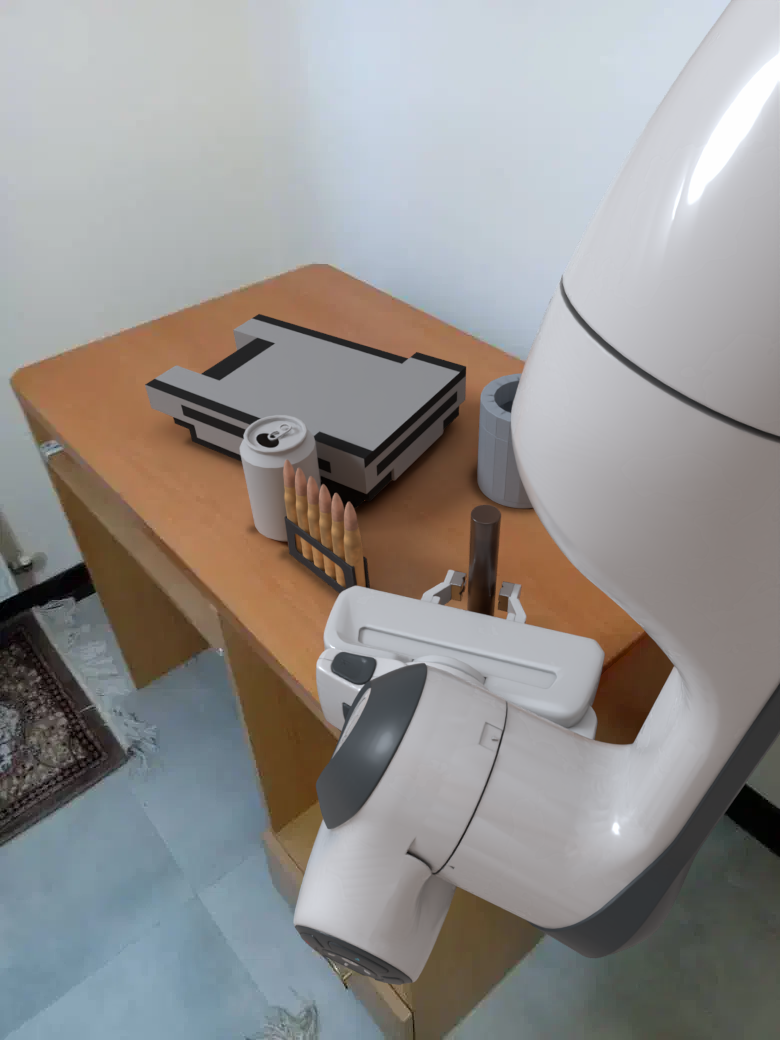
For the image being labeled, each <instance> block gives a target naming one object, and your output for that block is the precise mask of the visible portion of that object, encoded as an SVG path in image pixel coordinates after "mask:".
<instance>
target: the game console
mask: <svg viewBox="0 0 780 1040" xmlns="http://www.w3.org/2000/svg"><path fill="white" fill-rule="evenodd" d="M232 332H233V337H234V342H235V343H234V344H235V346H236V351H234V352H232V353H231V354H229V355H228V356H227V357H225V358H223V359H222V360H220V361H218V362H217V363H215V364H214V365H212V366H211V367H209V368H208V369H206V370H205V371H203V372H201V373H200V372H196V371H194V370H191V369H188V368H185V367H183V366H180V365H178V364H177V365H174V366H173V367H171V368H169V369H168V370H166V371H164V372H163V373H161V374H159V375H158V376H156V377H155V378H153V379H151V380H150V381H148V382H146V383H145V384H144V386H145V390H146V393H147V394H146V395H147V397H148V401H149V404H150V408H151V409H152V410H155V411H158V412H160V413H162V414H165V415H168V416H170V417H173V418H172V419H173V422H174V424H175V425H178V426H180V427H182V428H184V429H188V431H189V434H190V438H191V441H192V442H193V443H195V444H198V445H200V446H203V447H206V448H207V449H210V450H213V451H214V452H218V453H220V454H221V455H225V456H226V457H229V458H232V459H234V460H237V461H239V462H241V463H242V459H241V454H240V445H241V443H242V441H243V439H244V433H245V430H246V429H247V428H248V427H249V426H250V425H251V424H252V423H254V422H255V421H257V420H259V419H262V418H265V417H268V416H274V415H287V416H292V417H295V418H297V419H299V420H301V421H302V422H303V423H304V424H305V425H306V427H307V430H309V431H310V432H311V434H312V435H313V436H314V439H315V443H316V451H317V459H318V467H319V475H320V483H321V486H322V485H323V484H324V485H325V486H326V487H327V489H328V491H329V493H330V496H331V500H332V499H333V496H334V494H335V493H337V494H338V495H339V496H340V498H341V501H342V503H343V505H345V506H346V505H347V503H348V502H350V503H351V504H352V505H353V507H354V509H358V508H359V507H360V506H361V505H362V504H363V503H364V502H365V501H366V502H369V503H371V501H372V500H373V499H374V498H375V497H376V496H377V495H379V493H380V492H381V491H382V490H384V488H385V487H387V486H388V484H390V483H391V482H392V481H396V480H398V478H399V477H400V476H401V475H403V474H404V472H405V471H407V470H408V468H409V467H410V466H412V465H413V464H414V462H415V461H417V460H418V458H420V457H421V456H422V455H423V454H424V453H425V452H426V451H427V450H428V449H429V448H430V447H431V446H432V445H433V444H434V443H436V441H437V440H438V439H439V438H440V437H441V436H442V435H444V430H445V429H446V428H448V427H449V425H450V424H452V423H453V422H454V421H455V420H456V419H457V418H458V417H459V416H460V405H462V404H463V403H464V402H465V401H466V393H467V366H466V365H462V364H460V363H455V362H453V361H449V360H445V359H443V358H438V357H435V356H432V355H428V354H425V353H422V352H418V351H416V352H415V353H413V354H412V355H410V357H409V358H408V357H405V356H402V355H399V354H396V353H392V352H388V351H385V350H381V349H378V348H375V347H372V346H369V345H365V344H362V343H359V342H355V341H352V340H349V339H345V338H342V337H338V336H336V335H335V336H334V335H332V334H328V333H325V332H321V331H318V330H314V329H311V328H307V327H305V326H301V325H298V324H294V323H291V322H288V321H284V320H281V319H278V318H274V317H271V316H267V315H264V314H261V313H258V314H256V315H254V316H253V317H252V318H250V319H248V320H247V321H245V322H243V323H242V324H240V325H239V326H237V327H235V328H234V329H232Z"/></svg>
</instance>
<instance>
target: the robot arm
mask: <svg viewBox="0 0 780 1040" xmlns="http://www.w3.org/2000/svg"><path fill="white" fill-rule="evenodd" d="M686 61H687V62H686V63H685V64H684V66H683V67H682V69H680V70H681V71H680V72H679V73H678V74H677V76H676V77H675V79H674V81H673V82H672V83H671V85H670V87H669V88H668V90H667V91H666V93H665V94H664V96H663V97H662V99H661V100H660V102H659V103H658V105H657V106H656V108H655V109H654V111H653V112H652V114H651V115H650V116H649V118H648V120H647V122H645V125H644V126H643V128H642V130H641V132H640V133H639V135H638V136H637V138H636V140H635V142H634V143H633V145H632V146H631V148H630V149H629V151H628V153H627V154H626V155H625V157H624V159H623V161H622V162H621V164H620V166H619V167H618V169H617V171H616V172H615V174H614V176H613V177H612V180H611V181H610V183H609V185H608V187H607V189H606V190H605V192H604V194H603V195H602V198H601V200H600V201H599V202H598V205H597V207H596V208H595V210H594V212H593V214H592V216H591V217H590V219H589V221H588V223H587V225H586V227H585V228H584V231H583V233H582V234H581V237H580V239H579V240H578V243H577V244H576V247H575V249H574V251H573V253H572V254H571V256H570V258H569V261H568V263H567V264H566V267H565V269H564V270H563V273H562V274H561V276H560V278H559V281H558V282H557V284H556V287H555V289H554V291H553V293H552V296H551V298H550V300H549V302H548V304H547V307H546V309H545V312H544V314H543V316H542V319H541V320H540V323H539V326H538V328H537V331H536V333H535V336H534V339H533V341H532V343H531V346H530V349H529V352H528V354H527V356H526V360H525V363H524V365H523V369H522V372H521V374H522V375H521V378H520V381H519V384H518V387H517V391H516V395H515V398H514V401H513V405H512V410H511V433H512V444H513V450H514V455H515V459H516V464H517V468H518V471H519V475H520V478H521V480H522V483H523V485H524V488H525V490H526V493H527V495H528V497H529V500H530V502H531V504H532V506H533V508H532V509H533V510H534V512H535V514H536V515H537V517H538V519H539V521H540V523H541V525H543V527H544V529H545V530H546V532H547V533H548V535H549V537H550V539H552V541H553V542H554V543H555V545H556V546H557V547H558V549H559V550H560V551H561V553H562V554H563V555H564V556H565V557H566V558H567V560H568V561H569V562H570V564H572V566H573V567H575V569H576V570H577V571H578V572H579V573H580V574H581V575H582V576H584V577H585V578H586V579H587V580H588V581H589V582H590V583H592V584H593V585H594V586H595V587H596V588H598V589H599V590H600V591H601V592H602V593H604V595H606V596H607V597H608V598H609V599H611V600H612V601H613V602H614V603H615V604H616V605H618V606H619V608H620V609H622V610H623V611H624V612H625V613H626V614H627V615H628V616H629V617H630V618H631V619H632V620H633V621H634V622H636V623H637V624H638V625H639V626H640V627H641V629H643V630H644V632H645V633H646V634H647V635H648V636H649V637H650V638H651V639H652V640H653V642H655V643H656V645H657V646H658V647H659V648H660V650H661V651H662V652H663V653H664V654H665V656H666V657H667V658H668V659H669V660H670V662H671V664H672V665H673V667H672V669H671V671H670V673H669V675H668V676H667V679H666V681H665V683H664V685H663V687H662V688H661V690H660V692H659V694H658V695H657V698H656V699H655V701H654V703H653V705H652V707H651V709H650V711H649V713H648V714H647V716H646V719H644V722H643V724H642V726H641V728H640V730H639V731H638V733H637V735H636V736H635V737H636V738H635V739H634V741H633V742H632V743H628V744H627V743H626V744H617V743H611V742H610V743H609V742H604V741H600V740H596V736H597V735H596V734H597V730H598V724H599V723H598V722H599V721H598V716H597V714H596V712H595V710H594V708H593V704H594V702H595V698H596V695H597V691H598V689H599V684H600V680H601V677H602V672H603V667H604V662H605V656H606V653H605V651H604V649H603V648H602V646H601V645H600V644H599V642H598V640H596V639H593V638H590V637H587V636H581V635H577V634H573V633H568V632H564V631H559V630H555V629H551V628H546V627H542V626H537V625H533V624H528V623H527V617H528V616H527V613H526V612H525V610H524V607H523V606H522V603H521V601H520V600H521V594H522V584H519V583H514V582H510V581H505V580H504V581H502V583H501V588H500V589H499V592H498V597H497V598H498V599H497V600H498V603H497V611H502V612H505V613H507V616H506V618H503V617H497V616H494V617H493V616H489V615H485V614H480V613H476V612H471V611H467V609H462V608H458V607H453V606H449V605H447V604H448V603H449V602H450V601H457V602H462V600H463V597H464V593H465V591H466V588H467V585H468V573H467V572H462V571H458V570H453V569H450V568H449V569H448V570H447V573H446V575H445V577H444V580H443V581H441V582H440V583H438V584H436V585H435V586H433V587H431V588H429V589H428V590H426V591H425V592H423V594H422V596H421V598H420V599H418V598H414V597H408V596H404V595H400V594H396V593H391V592H386V591H382V590H378V589H375V588H371V587H370V588H365V587H361V586H353V587H350V588H348V589H346V590H344V591H342V592H341V593H338V596H337V598H336V599H335V601H334V603H333V606H332V608H331V610H330V613H329V616H328V618H327V621H326V624H325V627H324V630H323V646H324V651H322V652H321V654H320V655H319V657H318V659H317V660H316V663H315V664H316V665H315V666H316V667H315V681H316V690H317V691H316V692H317V695H318V696H317V697H318V701H319V705H320V708H321V710H322V711H321V712H322V713H323V716H324V719H325V720H326V721H327V722H328V723H329V724H330V725H332V726H333V727H335V728H336V729H338V731H341V732H340V735H339V737H338V740H337V743H336V745H335V747H334V750H333V753H332V754H331V757H330V759H329V762H328V763H327V764H326V765H325V766H324V768H323V769H322V771H321V772H320V774H319V775H318V778H317V780H316V782H315V789H316V793H317V794H316V795H317V799H318V805H319V809H320V813H321V816H322V821H321V823H320V825H319V828H318V831H317V833H316V837H315V839H314V843H313V845H312V849H311V851H310V854H309V858H308V861H307V864H306V869H305V871H304V875H303V877H302V882H301V885H300V888H299V891H298V895H297V900H296V903H295V904H296V905H295V910H294V913H293V919H292V920H293V921H292V923H293V927H294V928H295V930H296V931H297V933H298V934H299V935H300V938H301V939H302V940H303V941H304V942H305V943H306V944H307V945H308V946H309V947H310V948H311V949H312V950H314V951H315V952H318V953H320V954H321V955H322V956H324V957H325V958H327V959H329V960H331V961H333V962H335V963H337V964H339V965H341V966H343V967H345V968H347V969H349V970H351V971H353V972H356V973H358V974H359V975H362V976H363V977H364V976H365V977H368V978H371V979H373V980H374V981H377V982H381V983H384V984H389V985H396V986H401V985H405V984H406V985H407V984H412V983H416V982H417V980H418V979H419V977H420V975H421V974H422V972H423V970H424V969H425V966H426V965H427V963H428V960H429V958H430V956H431V953H432V951H433V949H434V947H435V944H436V943H437V939H438V937H439V935H440V932H441V931H442V928H443V925H444V923H445V920H446V917H447V915H448V912H449V910H450V907H451V906H452V905H451V904H452V901H453V899H454V896H455V893H456V891H457V887H458V888H459V889H462V890H464V891H465V892H466V891H467V892H468V893H470V894H472V895H474V896H476V897H479V898H480V899H482V900H484V901H486V902H488V903H491V904H492V905H495V906H497V907H499V908H501V909H502V910H504V911H507V912H509V913H511V914H513V915H515V916H517V917H519V918H521V919H523V920H525V921H526V922H527V923H528V924H529V925H530V926H532V927H534V928H535V929H537V930H539V931H541V932H542V933H544V934H545V935H547V936H549V937H550V938H552V939H554V940H556V941H558V943H561V944H562V945H564V946H566V947H567V948H569V949H571V950H572V951H574V952H575V953H577V954H579V955H581V956H583V957H585V958H588V959H601V958H605V957H607V956H611V955H615V954H618V953H620V952H623V951H625V950H628V949H630V948H632V947H635V946H637V945H639V944H641V943H643V942H644V941H645V940H648V939H649V938H650V937H652V936H653V935H654V934H655V933H656V932H657V931H658V930H659V929H660V928H661V926H662V925H663V924H664V922H665V920H666V919H667V918H668V915H669V914H670V912H671V911H672V909H673V907H674V904H675V903H676V900H677V898H678V896H679V894H680V892H681V889H682V887H683V885H684V882H685V881H686V879H687V876H688V874H689V872H690V870H691V867H692V865H693V863H694V860H695V858H696V857H697V855H698V853H699V852H700V850H701V848H702V847H703V845H704V844H705V843H706V841H707V840H708V838H709V837H710V836H711V834H712V832H713V831H714V830H715V828H716V827H717V825H718V823H719V822H720V821H721V819H723V816H724V815H725V814H726V812H727V811H728V809H729V808H730V806H731V805H732V804H733V802H734V800H735V799H736V798H737V796H738V795H739V793H740V792H741V791H742V789H743V788H744V786H745V785H746V783H747V782H749V779H750V778H751V777H752V775H753V773H754V772H755V771H756V769H757V768H758V767H759V765H760V764H761V762H762V761H763V759H764V758H765V757H766V755H768V752H769V751H770V749H771V748H772V746H773V745H774V744H775V742H776V741H777V740H778V739H779V736H780V0H730V1H729V3H728V4H727V5H726V7H725V8H724V9H723V11H722V12H721V14H720V15H719V17H718V18H717V19H716V21H715V22H714V24H713V25H712V27H711V28H710V29H709V31H708V32H707V33H706V35H705V36H704V37H703V39H702V41H701V42H700V43H699V44H698V45H697V46H696V49H695V50H694V51H693V53H692V54H691V55H690V57H689V58H688V59H687V60H686Z"/></svg>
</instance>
